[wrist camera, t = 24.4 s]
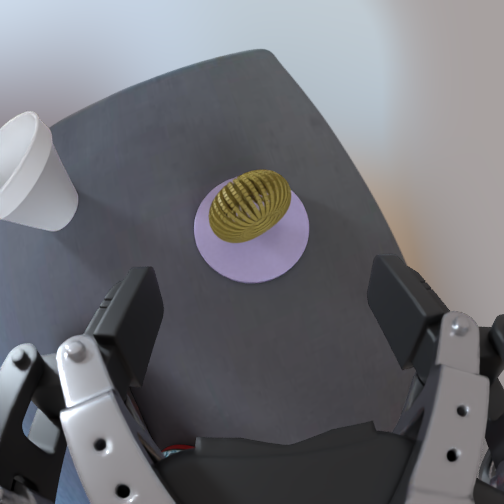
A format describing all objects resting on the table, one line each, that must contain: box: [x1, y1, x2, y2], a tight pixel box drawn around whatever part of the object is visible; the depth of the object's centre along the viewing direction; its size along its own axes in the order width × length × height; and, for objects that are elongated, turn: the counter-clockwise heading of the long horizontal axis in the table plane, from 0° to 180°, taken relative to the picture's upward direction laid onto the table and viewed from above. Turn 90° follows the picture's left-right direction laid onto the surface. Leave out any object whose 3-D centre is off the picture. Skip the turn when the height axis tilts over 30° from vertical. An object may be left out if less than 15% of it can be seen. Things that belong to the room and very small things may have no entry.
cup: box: [0, 112, 78, 231], centre depth 24 cm, size 12×12×14 cm
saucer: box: [194, 177, 309, 283], centre depth 29 cm, size 12×12×1 cm
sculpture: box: [208, 170, 291, 243], centre depth 25 cm, size 8×4×8 cm, turn 122°
